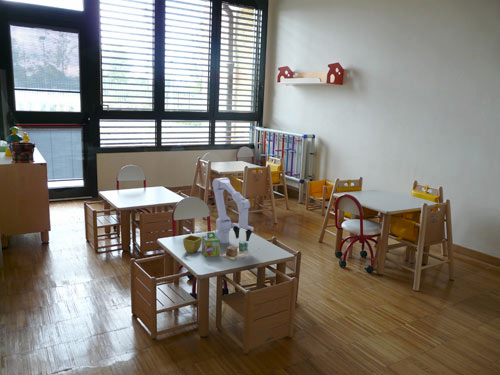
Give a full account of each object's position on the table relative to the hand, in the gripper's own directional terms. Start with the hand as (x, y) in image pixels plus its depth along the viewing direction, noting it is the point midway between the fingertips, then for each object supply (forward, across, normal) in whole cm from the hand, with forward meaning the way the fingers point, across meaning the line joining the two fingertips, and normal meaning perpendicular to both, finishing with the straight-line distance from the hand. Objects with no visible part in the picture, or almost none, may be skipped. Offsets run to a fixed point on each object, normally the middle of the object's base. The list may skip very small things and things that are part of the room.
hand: (242, 239), depth 268 cm
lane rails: (+8, 0, -4) cm, 9 cm away
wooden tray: (+8, 0, -8) cm, 11 cm away
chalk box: (+9, -12, -17) cm, 23 cm away
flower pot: (+9, -25, -18) cm, 32 cm away
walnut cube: (+7, 0, -12) cm, 13 cm away
